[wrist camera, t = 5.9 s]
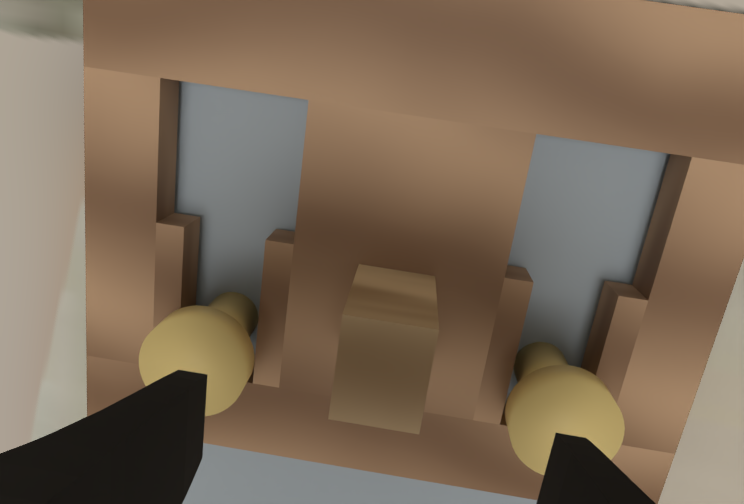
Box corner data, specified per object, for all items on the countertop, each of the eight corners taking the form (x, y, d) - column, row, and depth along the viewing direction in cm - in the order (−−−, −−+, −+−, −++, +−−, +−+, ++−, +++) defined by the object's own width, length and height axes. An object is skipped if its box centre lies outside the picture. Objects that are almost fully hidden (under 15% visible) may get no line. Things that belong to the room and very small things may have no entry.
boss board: (581, 597, 25) (621, 729, 20) (125, 516, 25) (52, 624, 20) (754, 58, 18) (880, 51, 13) (132, -30, 19) (28, -69, 14)
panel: (637, 492, 21) (707, 625, 16) (107, 402, 22) (11, 501, 17) (791, 29, 16) (961, 7, 11) (108, -67, 17) (-26, -128, 12)
